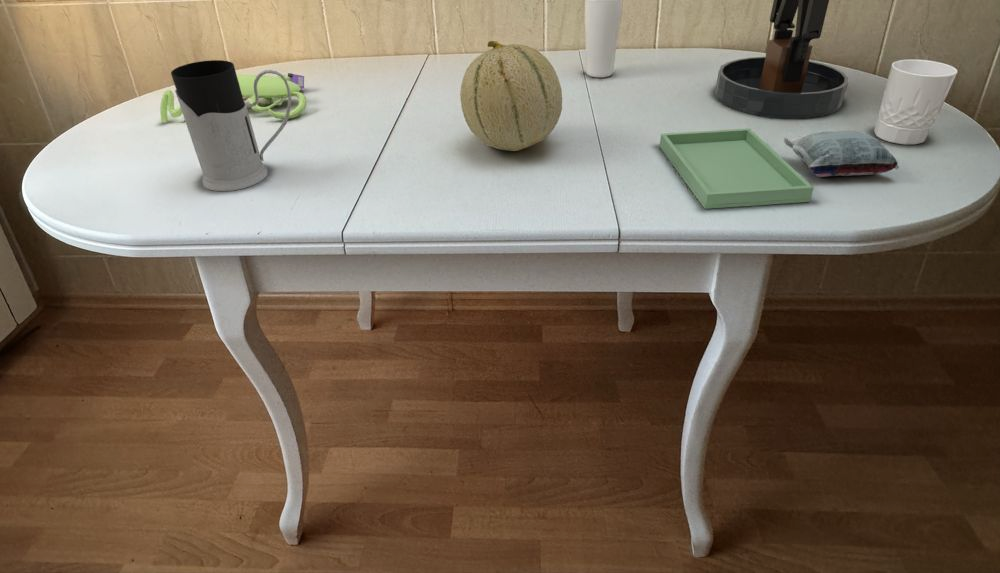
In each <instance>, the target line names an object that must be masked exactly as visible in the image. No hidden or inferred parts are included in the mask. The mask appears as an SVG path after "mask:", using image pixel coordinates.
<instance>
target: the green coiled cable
mask: <svg viewBox="0 0 1000 573" xmlns="http://www.w3.org/2000/svg"><path fill="white" fill-rule="evenodd" d="M236 75H237V78H238V82H239V86H240V89H241V93H242V97H243V100H244V102H246V100H249V104H252V103H254V102H255V101H256V97H255V92H254V80H255V78H256V76H257V75H258V74H245V73H244V74H243V73H242V74H241V73H238V74H237V73H236ZM282 75H283V76H284V77H285V79H286V80H287V83H288V86H289V89H290V95H291V97H295V98H297V99H298V105H297V106H296V107H295V108H294V109H292V110H290V114H289V118H288V120H291V119H295V118H296V117H298V116H300V115H301V114H302V113H303V112H304V110H305V109H306V107H307V106H306V105H307V97H306V95H305V94H304V93H302V92H300V91H302V90H303V89H305V75H300V74H294V73H290V72H288V73H287V75H284V74H282ZM257 92H258V97H259V99H264V101H266V102H267V103H268V104H269V105H268V106H260V105H259V104H258V103H257V105H255V106H254V107H251V109H252V110H253V111H255V112H257V113H261V112H262V113H263V112H266V111H268V113H269V115H270V116H272V117H273V118H274V119H277V120H284V118H285V115H286V112H277V111H274V110H272V109H273V107H275V106H281V105H282V104H283V103H284V100H286V99H288V94H287V87H286V85H285V82H284V80H283V79H282V78H281V77H280V76H278V75H275V76H268V75H262V76H261V77H260V79H259V81H258V83H257ZM272 102H273V103H272ZM159 111H160V120H161V122H163V123H165V124H167V122H168V121H169V117H168V113H169V114H170V116H171V117H172V118H178V117H181V116H183V113H182V110H181V107H180V105H178V107H177V108H176V109H175V96H174V92H173V91H172V90H166V91H164V92H163V95H162V97H161V101H160V107H159Z"/></svg>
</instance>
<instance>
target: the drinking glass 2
mask: <svg viewBox="0 0 1000 573" xmlns="http://www.w3.org/2000/svg"><path fill="white" fill-rule="evenodd" d="M623 3H624V1H623V0H584V40H585V42H584V44H585V73H586V75H587V76H588V77H592V78H598V79H599V78H608V77H610V76H612V75H613V73H614V71H615V62H616V61H615V60H616V54H617V46H618V40H619V34H620V29H621V21H622V14H623Z"/></svg>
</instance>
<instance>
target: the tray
mask: <svg viewBox="0 0 1000 573" xmlns="http://www.w3.org/2000/svg"><path fill="white" fill-rule="evenodd" d="M659 148H660V149H661V151H662V152H663V153H664V155H665V156H666V158H667V159H668V161H669V162H670V163H671V164H672V166H673V167H674V169H675V170H676V172H677V173H678V174H679V175H680V177H681V178H682V180H683V181H684V182H685V183H686V185H687V186H688V188H689V189H690V191H691V192H692V193H693V195H694V196H695V197H696V198H697V200H698V202H699V203H700V204H701V206H702V207H703V209H705V210H709V209H721V208H722V209H723V208H725V209H726V208H741V207H754V206H768V205H769V206H770V205H781V204H782V205H784V204H797V203H809V202H810V203H811V199H812V195H813V192H814V190H815V189H814V185H812V184H811V183H810V182H808V181H807V180H806V179H805V177H804V176H802V175H801V174H800V173H799V172H798V171H796V170H795V169H794V167H792V166H791V165H790V163H788V162H787V161H785V159H783V158H782V156H780V155H779V154H778V153H777V152H776V151H775V150H774V149H773V148H771V147H770V146H769V145H768V144H767V143H766V142H765V141H764V140H763V139H762V138H761V137H760V136H759V135H758V134H756V133H755V132H754V131H753V130H752V129H751V128H749V127H748V128H733V129H719V130H704V131H703V130H702V131H701V130H699V131H686V132H685V131H684V132H669V133H661V134H660V139H659Z"/></svg>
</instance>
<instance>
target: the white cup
mask: <svg viewBox="0 0 1000 573" xmlns="http://www.w3.org/2000/svg"><path fill="white" fill-rule="evenodd" d="M957 74H958V69H956V67H954V66H953V65H950V64H947V63H944V62H939V61H934V60H928V59H916V58H915V59H913V58H912V59H900V60H895V61H893V62H892V63H891V65H890V69H889V72H888V77H887V81H886V82H885V83H886V84H885V87H884V91H883V94H882V98H881V104H880V106H879V110H878V117H877V120H876V124H875V126H874V130H873V133H874V135H875V136H876V137H877V138H879V139H881V140H883V141H886V142H889V143H893V144H898V145H905V146H906V145H919V144H923V143H924V142H925V141H926V140H927V138H928V136H929V133H930V131H931V128H932V127H933V125H934V124H935V122H936V120H937V117H938V115H939V114H940V112H941V110H942V108H943V105H944V103H945V101H946V98H947V96H948V94H949V92H950V90H951V87H952V85H953V83H954V81H955V78H956V76H957Z"/></svg>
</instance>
